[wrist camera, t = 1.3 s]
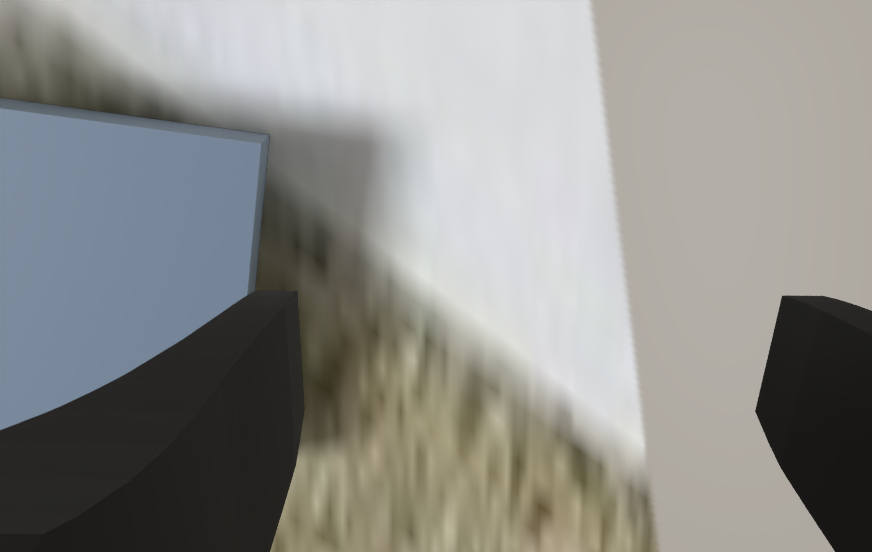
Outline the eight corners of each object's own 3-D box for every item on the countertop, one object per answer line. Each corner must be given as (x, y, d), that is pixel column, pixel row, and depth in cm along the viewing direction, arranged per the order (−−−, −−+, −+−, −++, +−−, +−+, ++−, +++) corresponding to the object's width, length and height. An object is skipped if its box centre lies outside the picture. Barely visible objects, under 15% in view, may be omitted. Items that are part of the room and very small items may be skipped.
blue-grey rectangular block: (270, 134, 22) (261, 143, 18) (240, 450, 24) (225, 520, 20) (-74, 86, 20) (-165, 86, 16) (-73, 432, 22) (-154, 504, 18)
